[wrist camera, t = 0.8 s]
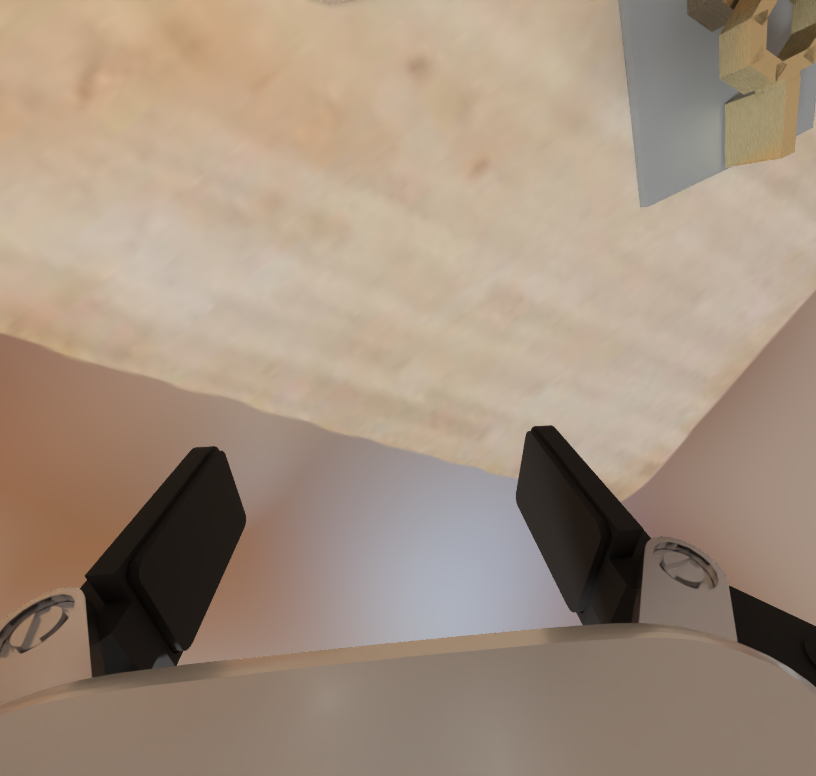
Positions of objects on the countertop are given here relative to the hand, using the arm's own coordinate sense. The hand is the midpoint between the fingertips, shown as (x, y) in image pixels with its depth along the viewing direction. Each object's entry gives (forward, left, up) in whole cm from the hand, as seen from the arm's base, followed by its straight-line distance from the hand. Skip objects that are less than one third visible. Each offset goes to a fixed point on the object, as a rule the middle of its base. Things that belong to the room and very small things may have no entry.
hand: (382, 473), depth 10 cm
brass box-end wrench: (-2, +41, -32) cm, 52 cm away
